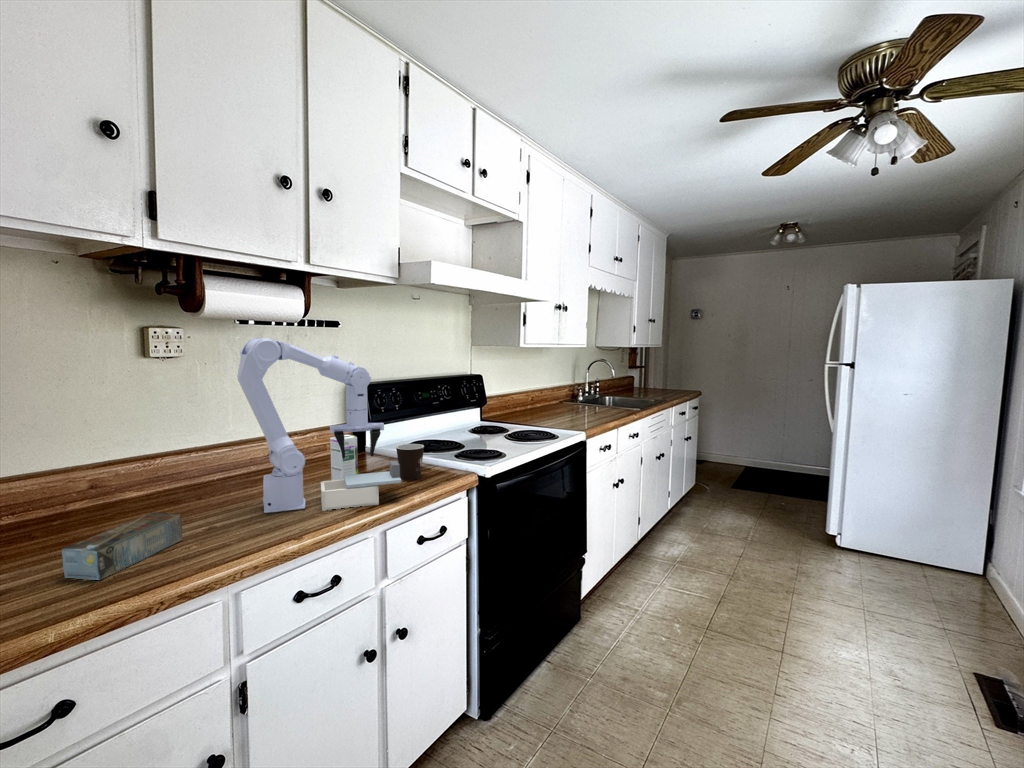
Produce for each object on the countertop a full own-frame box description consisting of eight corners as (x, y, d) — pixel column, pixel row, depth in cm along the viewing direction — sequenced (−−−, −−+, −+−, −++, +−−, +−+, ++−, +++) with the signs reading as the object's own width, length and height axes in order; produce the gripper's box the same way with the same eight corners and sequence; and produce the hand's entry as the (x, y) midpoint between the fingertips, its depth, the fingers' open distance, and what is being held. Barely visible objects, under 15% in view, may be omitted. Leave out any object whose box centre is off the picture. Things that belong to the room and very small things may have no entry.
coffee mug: (411, 482, 150) (410, 450, 149) (390, 478, 154) (390, 447, 154) (436, 474, 160) (435, 444, 159) (416, 470, 164) (415, 441, 163)
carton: (322, 511, 124) (321, 491, 124) (321, 499, 134) (320, 481, 133) (378, 504, 130) (378, 486, 129) (374, 493, 139) (373, 476, 138)
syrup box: (342, 487, 145) (341, 438, 144) (330, 483, 149) (329, 436, 147) (358, 482, 150) (357, 436, 148) (347, 479, 153) (346, 433, 152)
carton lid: (346, 488, 126) (346, 471, 126) (344, 478, 135) (343, 462, 135) (401, 482, 131) (401, 466, 131) (395, 473, 141) (395, 458, 140)
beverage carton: (60, 580, 88) (57, 544, 88) (152, 538, 107) (151, 509, 107) (98, 583, 87) (96, 547, 86) (185, 540, 106) (183, 511, 105)
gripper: (330, 412, 132) (331, 461, 133) (385, 409, 137) (385, 457, 138) (329, 409, 138) (330, 456, 139) (381, 406, 144) (382, 452, 145)
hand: (357, 456), depth 139 cm, fingers open, 7 cm apart
